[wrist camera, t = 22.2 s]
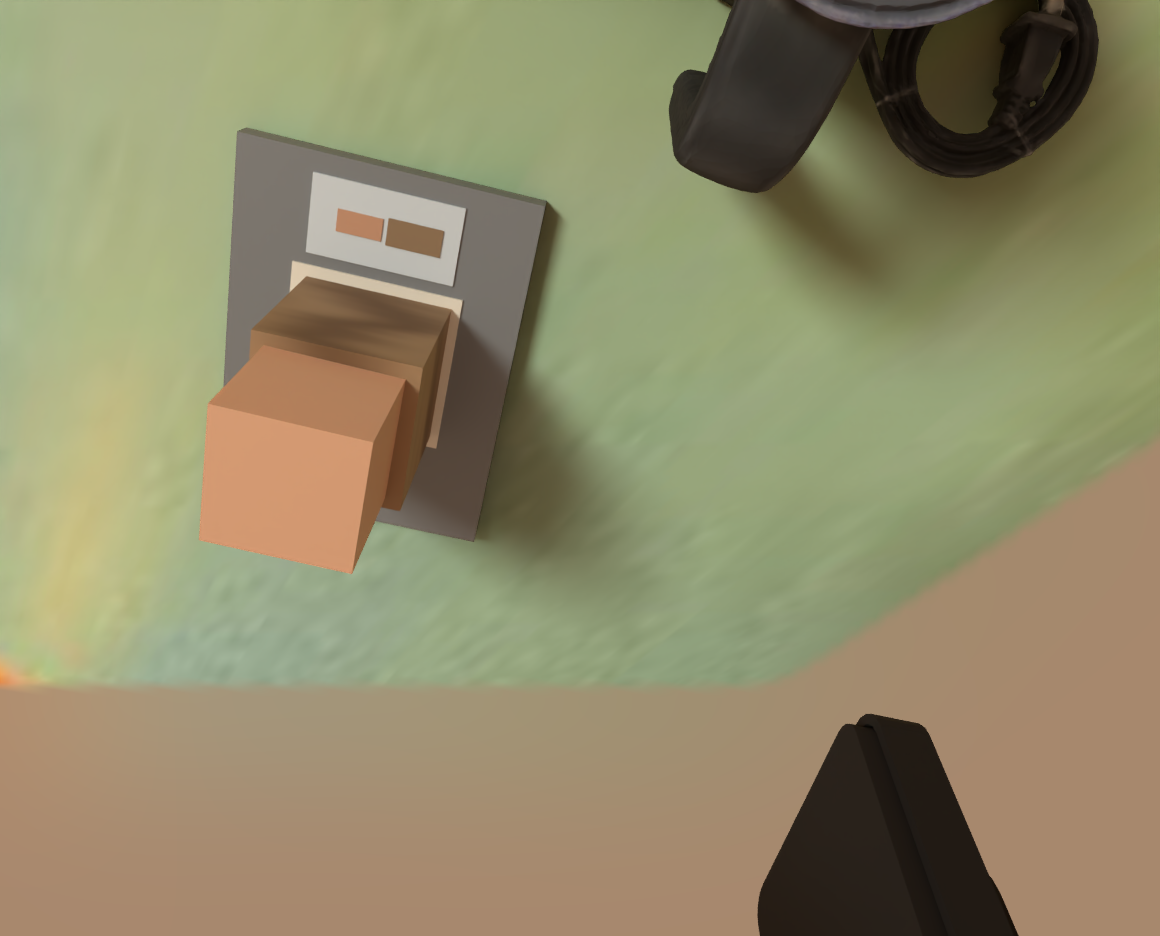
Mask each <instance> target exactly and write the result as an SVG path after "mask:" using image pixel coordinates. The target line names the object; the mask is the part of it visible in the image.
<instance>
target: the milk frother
mask: <svg viewBox="0 0 1160 936" xmlns="http://www.w3.org/2000/svg"><path fill="white" fill-rule="evenodd" d="M722 1H724V2H727V3H728V4H729V5H731V6H733V7H732V9H731V12H730V14H729V17H728V19H727V22H726V25H725V28H724V31H723V34H722V35H721V37H720V38H719V42H718V45H717V48H716V51H715V54H714V56H713V59H712V61H711V63H710V65H709V68H708V71H707V73H705V72H701V71H696V70H687V71H684V72H683V73H681V74H680V75H679V77H678V78H677V80H676V81H675V83H674V85H673V94H672V97H671V101H670V105H669V117H670V126H671V135H672V144H673V152H674V156H675V158H676V159H677V161H678V162H679V163H680V164H681V165H682V166H684V167H685V168H687V169H688V170H690V171H692V172H694V173H696V174H698V175H700V176H702V177H704V178H707V179H709V180H712V181H714V182H716V183H719V184H722V185H724V186H727V187H730V188H734V189H737V190H741V191H746V192H751V193H759V192H763V191H767V190H769V189H770V188H772V187H773V186H774V185H776V184H777V183H778V182H779V181H780V180H782V179H783V178H784V177H785V176H786V175H787V174H788V173H789V172H790V171H791V169H792V168H793V167H794V166H795V165H796V163H797V162H798V161H799V160H800V158H801V157H802V155H803V154H804V153H805V151H806V150H807V148H808V147H809V145H810V144H811V142H812V140H813V139H814V137H815V136H816V134H817V132H818V131H819V129H820V127H821V126H822V124H823V122H824V121H825V119H826V117H827V116H828V114H829V112H830V110H831V108H832V107H833V105H834V103H835V101H836V99H837V97H838V95H839V93H840V91H841V89H842V87H843V85H844V83H845V81H846V79H847V77H848V75H849V73H850V72H851V70H852V68H853V66H854V64H855V62H856V60H857V58H858V56H859V60H860V63H861V66H862V69H863V71H864V74H865V77H866V81H867V83H868V86H869V89H870V92H871V95H872V97H873V100H874V102H875V105H876V107H877V110H878V112H879V114H880V116H881V119H882V121H883V123H884V125H885V127H886V129H887V131H888V133H889V135H890V137H891V139H892V141H893V142H894V143H895V145H896V146H897V147H898V149H899V150H900V151H901V152H902V153H903V154H904V155H905V156H906V157H908V158H909V159H910V160H911V161H913V162H914V163H915V164H916V165H918V166H920V167H922V168H923V169H925V170H927V171H929V172H932V173H935V174H938V175H942V176H946V177H954V178H969V177H977V176H981V175H984V174H987V173H989V172H992V171H996V170H999V169H1001V168H1003V167H1005V166H1007V165H1009V164H1011V163H1013V162H1015V161H1017V160H1019V159H1020V158H1023V157H1026V156H1029V155H1031V154H1032V153H1033V152H1034V151H1035V150H1036V149H1037V148H1038V147H1040V146H1041V145H1042V144H1043V143H1045V142H1046V141H1047V140H1048V139H1050V138H1051V137H1052V136H1053V135H1054V134H1055V133H1056V132H1057V131H1058V130H1059V129H1060V128H1061V127H1063V126H1064V125H1065V123H1066V122H1067V121H1068V120H1070V118H1071V117H1072V115H1073V114H1074V112H1075V111H1076V109H1077V108H1078V106H1079V105H1080V104H1081V102H1082V100H1083V98H1084V97H1085V95H1086V93H1087V91H1088V88H1089V85H1090V83H1091V81H1092V78H1093V75H1094V71H1095V67H1096V61H1097V54H1098V42H1099V39H1098V33H1097V25H1096V21H1095V19H1094V17H1093V11H1092V9H1091V7H1090V5H1089V3H1088V1H1087V0H1038V5H1039V12H1038V13H1037V12H1032V11H1029V12H1027V13H1025V14H1023V15H1022V16H1020V18H1019V19H1018V20H1017V21H1015V22H1014V23H1013V24H1011V25H1010V26H1009V27H1007V28H1006V29H1005V30H1004V32H1003V33H1002V36H1001V37H1000V41H1001V43H1003V44H1005V45H1006V46H1005V51H1004V54H1003V58H1002V61H1001V67H1000V73H999V85H998V86H997V87H995V88H994V90H993V96H994V97H995V98H996V99H997V101H998V102H997V105H996V107H995V109H994V111H993V113H992V115H991V117H990V118H989V120H988V126H989V127H988V128H986V129H985V130H983V131H982V132H980V133H972V134H959V133H955V132H953V131H951V130H949V129H947V128H945V127H943V126H942V125H940V124H939V123H938V122H937V121H936V120H935V119H934V118H933V117H932V116H931V115H930V113H929V112H928V111H927V110H926V108H925V107H924V105H923V102H922V100H921V98H920V95H919V92H918V88H917V82H916V64H917V59H918V55H919V52H920V49H921V46H922V44H923V42H924V40H925V38H926V36H927V35H928V33H929V31H930V30H931V28H932V27H933V26H934V25H935V24H937V23H941V22H944V21H948V20H951V19H954V18H956V17H958V16H960V15H963V14H965V13H967V12H970V11H972V10H974V9H976V8H978V7H980V6H983V5H986V4H988V3H990V2H991V1H993V0H722ZM873 29H893V31H892V33H891V35H890V37H889V39H888V42H887V45H886V49H885V54H884V58H883V61H880V58H879V55H878V50H877V46H876V42H875V38H874V33H873ZM1059 50H1061V58H1060V62H1059V66H1058V68H1057V70H1056V73H1055V75H1054V77H1053V79H1052V81H1051V82H1050V84H1049V86H1048V88H1047V90H1046V92H1045V94H1044V96H1043V93H1044V89H1043V81H1044V79H1045V78H1046V76H1047V74H1048V73H1049V71H1050V69H1051V67H1052V65H1053V63H1054V62H1055V59H1056V57H1057V55H1058V53H1059ZM1041 97H1043V98H1041ZM1040 98H1041V99H1040ZM1033 101H1035V103H1036V104H1035V106H1034V107H1030V103H1031V102H1033Z"/></svg>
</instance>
